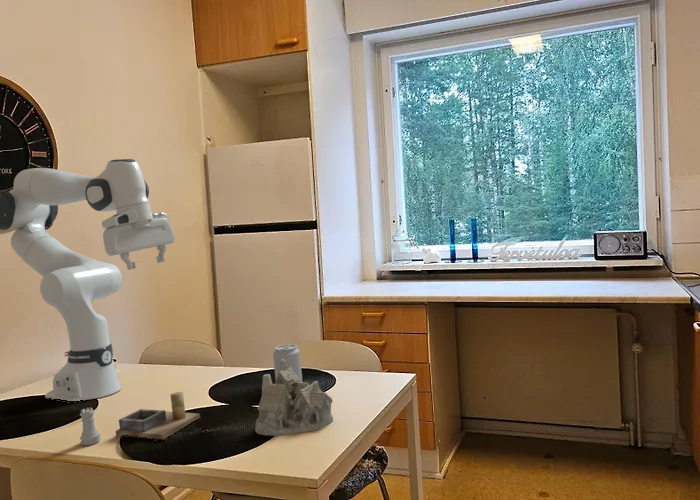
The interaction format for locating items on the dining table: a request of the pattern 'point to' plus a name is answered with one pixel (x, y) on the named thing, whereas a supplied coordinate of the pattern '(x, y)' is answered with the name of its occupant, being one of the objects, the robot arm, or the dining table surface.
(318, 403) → the ceramic cottage
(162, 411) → the carrier plate
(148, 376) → the dining table surface
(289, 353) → the can
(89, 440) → the rook chess piece
